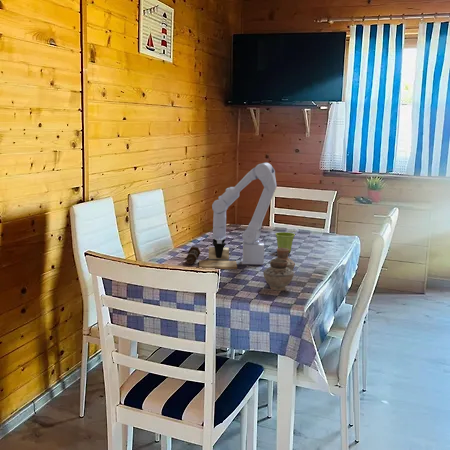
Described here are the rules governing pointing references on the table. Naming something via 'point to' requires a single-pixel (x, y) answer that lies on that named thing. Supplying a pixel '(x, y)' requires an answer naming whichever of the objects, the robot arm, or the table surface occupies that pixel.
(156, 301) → the table surface
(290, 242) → the plant pot
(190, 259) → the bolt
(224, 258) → the block
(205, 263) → the board
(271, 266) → the pottery
